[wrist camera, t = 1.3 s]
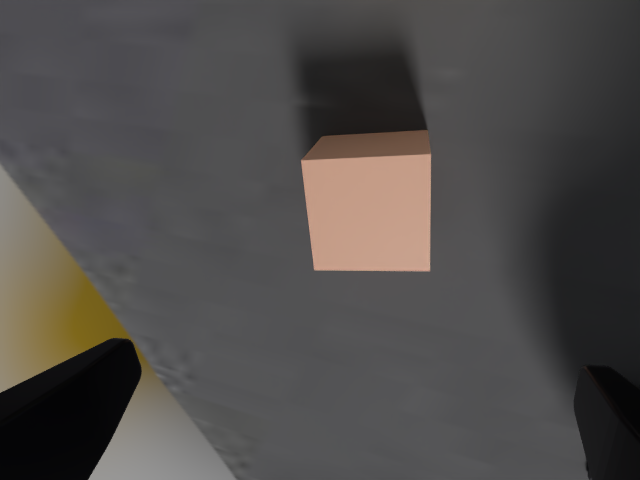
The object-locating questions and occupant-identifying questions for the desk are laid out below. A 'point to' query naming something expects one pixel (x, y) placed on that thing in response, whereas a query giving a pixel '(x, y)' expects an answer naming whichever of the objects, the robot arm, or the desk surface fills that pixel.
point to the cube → (369, 201)
